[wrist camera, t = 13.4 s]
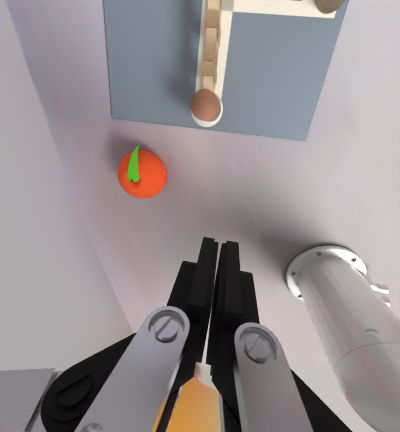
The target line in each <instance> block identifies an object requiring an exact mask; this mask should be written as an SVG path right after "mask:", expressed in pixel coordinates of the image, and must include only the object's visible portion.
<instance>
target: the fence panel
mask: <svg viewBox="0 0 400 432" xmlns="http://www.w3.org/2000/svg"><path fill="white" fill-rule="evenodd" d="M222 3H223V0H208V10H206V18H205V28H206V44H205V60H204V61H203V69H202V76H203V89H200V90H198V91H197V92H196V93H195V94H194V95H193V97H192V99H191V111H192V113H193V115H194V116H195V117H196V118H197V119H199V120H203V121H207V122H212V121H215V120H216V119H217V118H218V117H219V115H220V112H221V106H220V103H219V101H218V99H217V97H216V95H215V86H216V83H217V62H218V51H219V45H220V37H221V29H220V27H221V15H222Z"/></svg>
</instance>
